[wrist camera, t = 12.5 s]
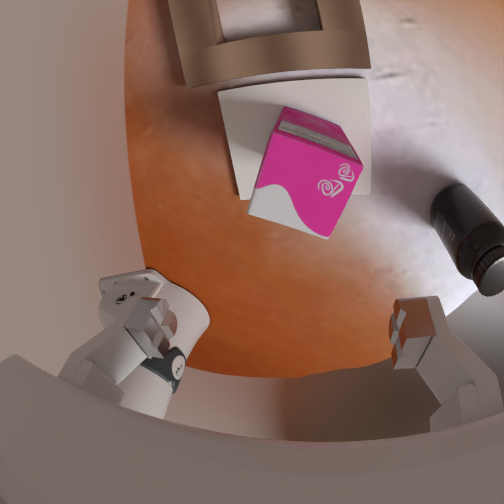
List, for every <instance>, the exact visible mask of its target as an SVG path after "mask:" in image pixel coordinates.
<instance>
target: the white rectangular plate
mask: <svg viewBox="0 0 504 504" xmlns="http://www.w3.org/2000/svg"><path fill="white" fill-rule="evenodd" d="M217 93H218V98H219V102H220V107H221V112H222V116H223V121H224V125H225V130H226V135H227V139H228V144H229V149H230V153H231V158H232V163H233V167H234V172H235V177H236V181H237V186H238V190H239V195H240V200H246V199H251V196H252V192H253V189H254V185H255V182H256V178H257V175H258V171H259V168H260V165H261V162H262V158H263V155H264V152H265V149H266V146H267V143H268V140H269V137H270V134H271V132H272V130H273V128H274V126H275V124H276V122H277V120H278V118H279V116H280V114H281V112H282V109H283V107H284V106H287V107H290V108H294V109H297V110H300V111H303V112H305V113H308V114H311V115H314V116H316V117H319V118H322V119H324V120H327V121H329V122H332V123H334V124H337V125H339V126H340V127H341V128H342V130H343V131H344V133H345V135H346V136H347V138H348V140H349V141H350V143H351V145H352V146H353V148H354V150H355V151H356V153H357V155H358V157H359V158H360V160H361V162H362V164H363V165H364V168H363V170H362V172H361V174H360V176H359V178H358V180H357V183H356V185H355V187H354V189H353V191H352V193H351V195H371V125H370V107H369V94H368V83H367V79H366V78H329V79H308V80H295V81H284V82H275V83H267V84H259V85H252V86H246V87H240V88H234V89H229V90H224V91H219V92H217Z"/></svg>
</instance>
